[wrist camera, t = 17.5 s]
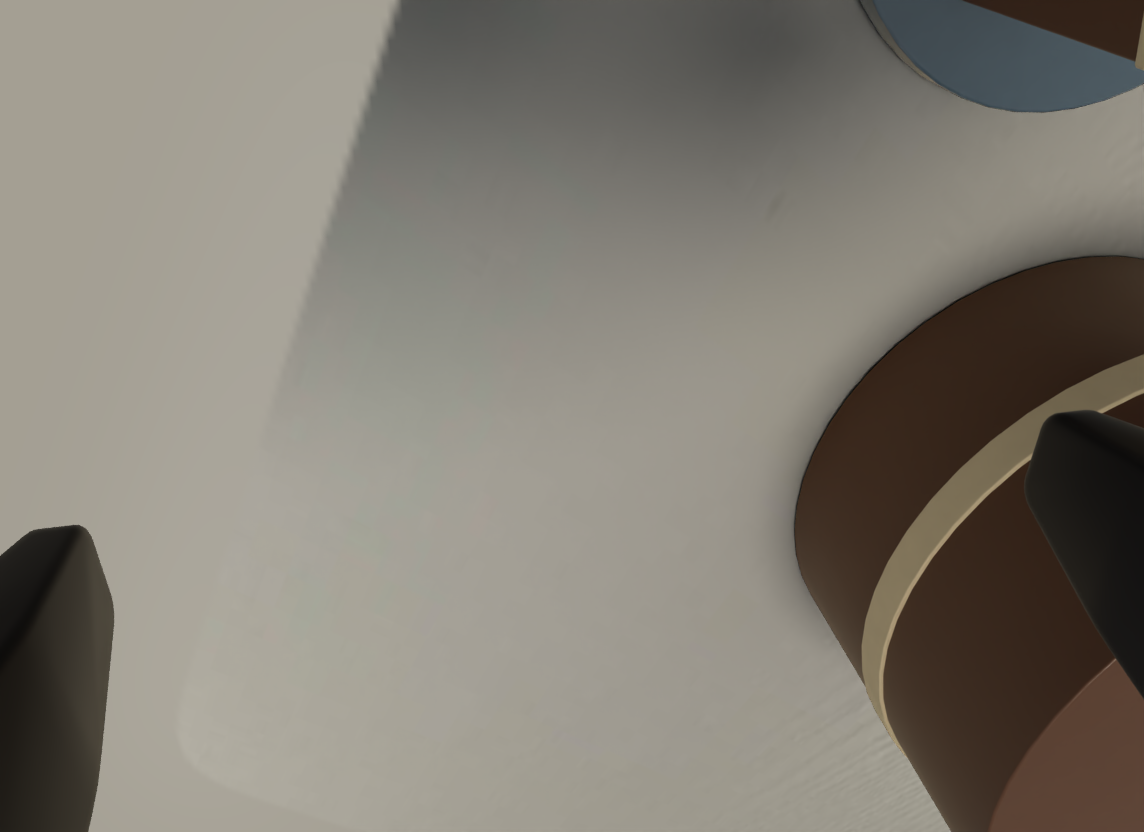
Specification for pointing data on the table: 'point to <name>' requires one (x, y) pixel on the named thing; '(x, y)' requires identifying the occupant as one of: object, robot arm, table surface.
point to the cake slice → (1083, 22)
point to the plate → (999, 56)
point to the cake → (983, 553)
